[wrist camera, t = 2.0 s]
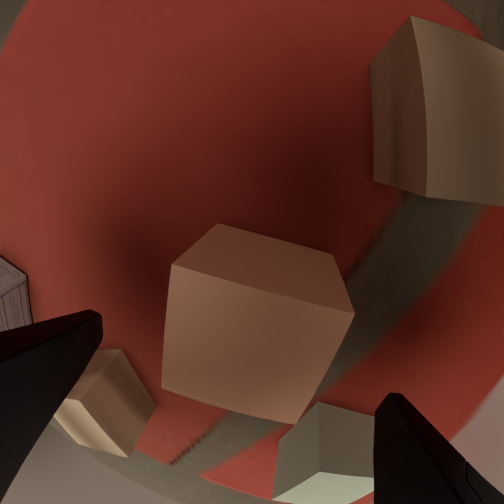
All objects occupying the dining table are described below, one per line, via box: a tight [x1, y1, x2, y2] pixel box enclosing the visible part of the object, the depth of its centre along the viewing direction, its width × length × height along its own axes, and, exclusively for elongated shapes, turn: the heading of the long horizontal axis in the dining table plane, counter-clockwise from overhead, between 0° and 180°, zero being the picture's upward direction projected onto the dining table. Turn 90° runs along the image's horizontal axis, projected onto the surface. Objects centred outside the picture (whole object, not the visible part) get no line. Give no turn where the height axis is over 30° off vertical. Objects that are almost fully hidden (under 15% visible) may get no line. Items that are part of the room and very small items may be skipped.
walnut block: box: [368, 16, 504, 207], centre depth 7 cm, size 5×5×5 cm
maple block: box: [54, 349, 157, 458], centre depth 14 cm, size 5×5×5 cm
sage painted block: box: [272, 401, 375, 504], centre depth 13 cm, size 5×5×5 cm
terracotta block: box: [161, 223, 355, 425], centre depth 10 cm, size 5×5×5 cm
